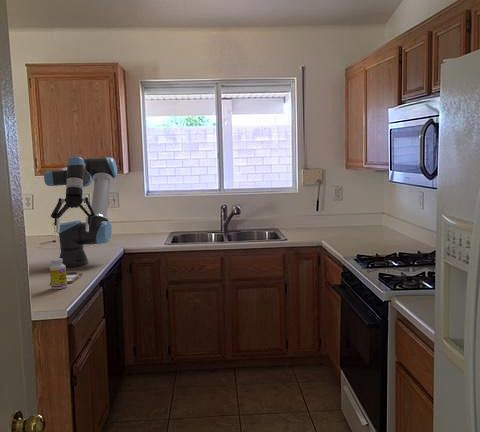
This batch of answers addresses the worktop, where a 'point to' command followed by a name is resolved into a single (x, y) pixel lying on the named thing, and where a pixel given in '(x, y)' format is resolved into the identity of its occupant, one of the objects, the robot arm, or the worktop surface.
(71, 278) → the clipboard
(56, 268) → the supplement bottle
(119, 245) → the worktop surface
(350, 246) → the worktop surface
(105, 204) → the robot arm
